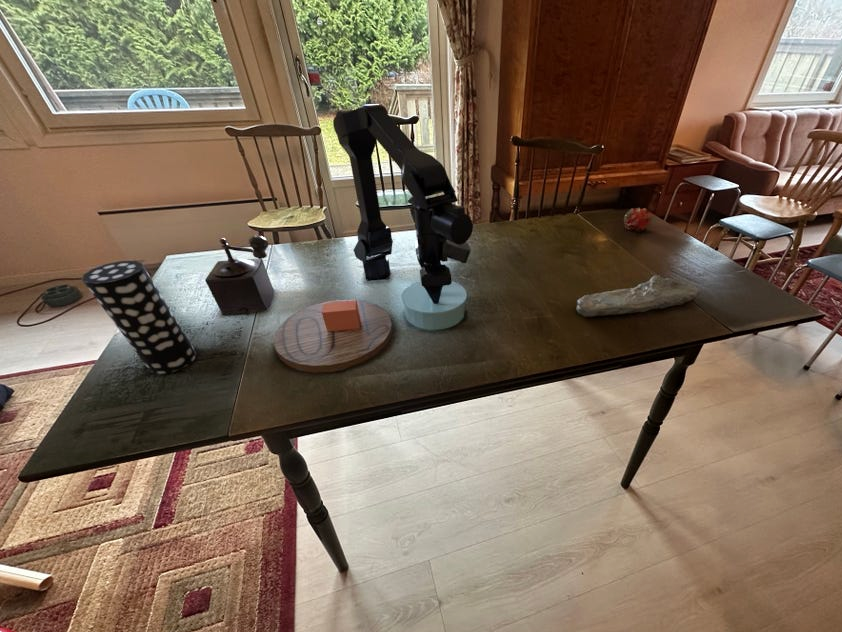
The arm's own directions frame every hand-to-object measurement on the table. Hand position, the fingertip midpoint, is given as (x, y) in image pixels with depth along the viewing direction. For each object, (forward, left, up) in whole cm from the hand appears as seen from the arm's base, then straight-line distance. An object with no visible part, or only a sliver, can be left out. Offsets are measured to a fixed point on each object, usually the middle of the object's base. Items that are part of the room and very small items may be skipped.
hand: (434, 294), depth 88 cm
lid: (0, 0, -1) cm, 1 cm away
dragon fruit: (+79, +44, -6) cm, 91 cm away
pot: (0, 0, -6) cm, 6 cm away
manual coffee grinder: (-43, +13, -6) cm, 45 cm away
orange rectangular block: (-21, -4, -4) cm, 22 cm away
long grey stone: (+52, -4, -6) cm, 53 cm away
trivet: (-23, -5, -6) cm, 24 cm away
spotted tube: (-55, -8, -6) cm, 56 cm away
